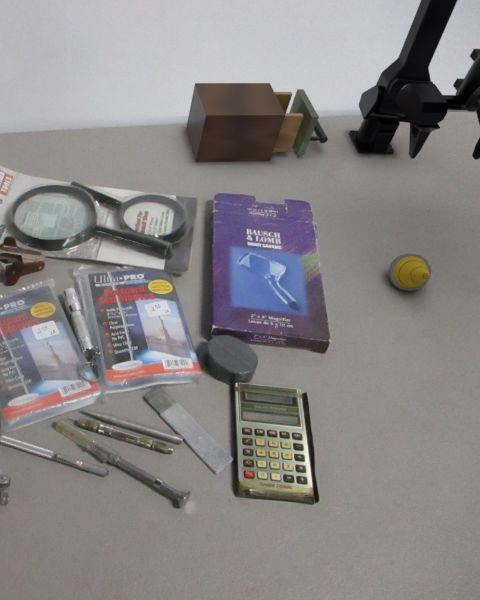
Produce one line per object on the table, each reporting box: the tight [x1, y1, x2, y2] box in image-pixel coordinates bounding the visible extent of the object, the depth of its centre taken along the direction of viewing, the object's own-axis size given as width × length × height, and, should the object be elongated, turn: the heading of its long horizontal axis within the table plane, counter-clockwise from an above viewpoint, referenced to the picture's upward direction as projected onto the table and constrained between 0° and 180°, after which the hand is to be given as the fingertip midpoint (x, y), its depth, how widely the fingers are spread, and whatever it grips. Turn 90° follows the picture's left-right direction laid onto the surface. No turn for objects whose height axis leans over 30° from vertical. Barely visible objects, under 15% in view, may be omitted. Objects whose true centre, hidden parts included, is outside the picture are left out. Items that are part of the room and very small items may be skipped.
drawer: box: [273, 88, 329, 156], centre depth 105 cm, size 16×9×8 cm, turn 93°
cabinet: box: [185, 82, 285, 163], centre depth 104 cm, size 13×10×9 cm
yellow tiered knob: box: [388, 253, 432, 292], centre depth 84 cm, size 5×5×10 cm
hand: (442, 157), depth 85 cm, fingers open, 9 cm apart
